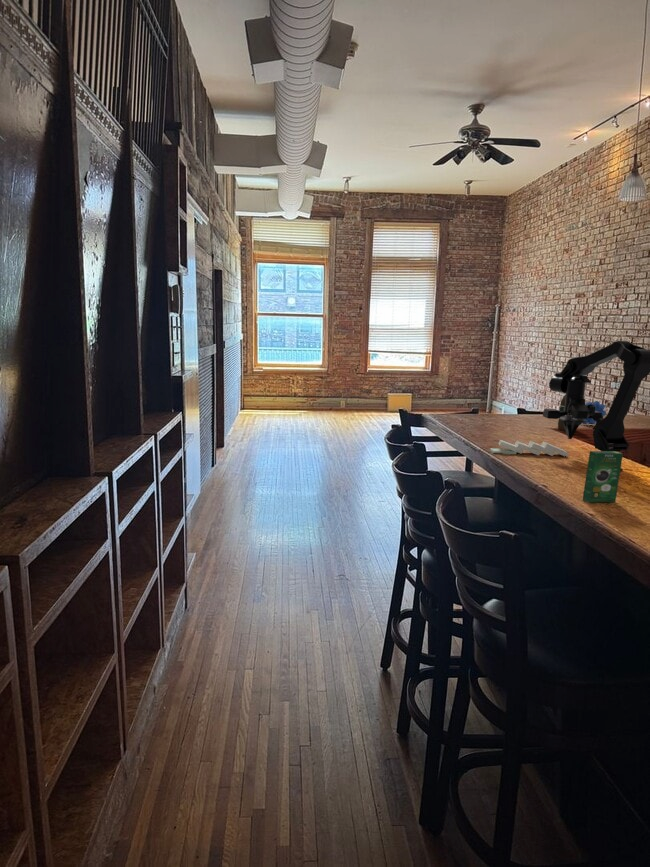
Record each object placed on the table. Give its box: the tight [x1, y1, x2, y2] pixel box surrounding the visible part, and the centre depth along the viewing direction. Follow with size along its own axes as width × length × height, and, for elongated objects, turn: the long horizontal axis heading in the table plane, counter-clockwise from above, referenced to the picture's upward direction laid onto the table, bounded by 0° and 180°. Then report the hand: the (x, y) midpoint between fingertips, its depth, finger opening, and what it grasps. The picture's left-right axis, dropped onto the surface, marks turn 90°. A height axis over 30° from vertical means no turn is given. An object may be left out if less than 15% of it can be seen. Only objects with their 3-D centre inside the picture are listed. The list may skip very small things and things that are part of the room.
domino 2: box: [498, 439, 524, 454], centre depth 195 cm, size 5×2×8 cm
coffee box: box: [582, 450, 624, 504], centre depth 139 cm, size 8×3×13 cm, turn 102°
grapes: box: [582, 400, 607, 425], centre depth 263 cm, size 12×7×12 cm, turn 64°
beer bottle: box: [557, 393, 573, 432], centre depth 246 cm, size 8×8×24 cm
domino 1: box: [489, 448, 517, 455], centre depth 194 cm, size 5×2×8 cm
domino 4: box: [527, 440, 556, 457], centre depth 193 cm, size 5×2×8 cm
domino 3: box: [514, 440, 541, 456], centre depth 194 cm, size 5×2×8 cm
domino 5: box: [540, 441, 569, 457], centre depth 193 cm, size 5×2×8 cm
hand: (569, 438), depth 192 cm, fingers closed
